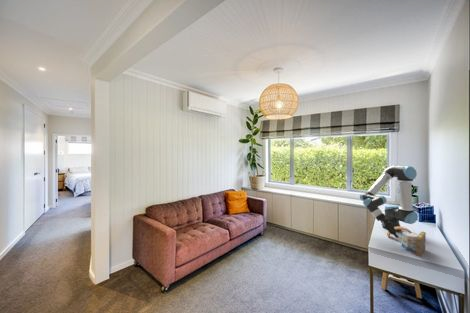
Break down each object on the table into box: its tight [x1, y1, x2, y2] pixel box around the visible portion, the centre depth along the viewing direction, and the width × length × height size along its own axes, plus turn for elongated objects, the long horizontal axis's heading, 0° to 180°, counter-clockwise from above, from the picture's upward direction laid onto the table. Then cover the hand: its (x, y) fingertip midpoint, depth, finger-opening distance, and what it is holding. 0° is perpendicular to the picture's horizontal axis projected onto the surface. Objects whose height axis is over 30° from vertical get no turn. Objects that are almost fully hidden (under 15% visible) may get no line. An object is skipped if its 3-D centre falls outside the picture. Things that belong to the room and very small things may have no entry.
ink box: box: [400, 231, 418, 252], centre depth 164 cm, size 9×8×12 cm
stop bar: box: [415, 230, 427, 257], centre depth 157 cm, size 18×2×14 cm, turn 128°
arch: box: [386, 225, 413, 238], centre depth 183 cm, size 6×20×10 cm, turn 61°
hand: (401, 240), depth 166 cm, fingers closed
